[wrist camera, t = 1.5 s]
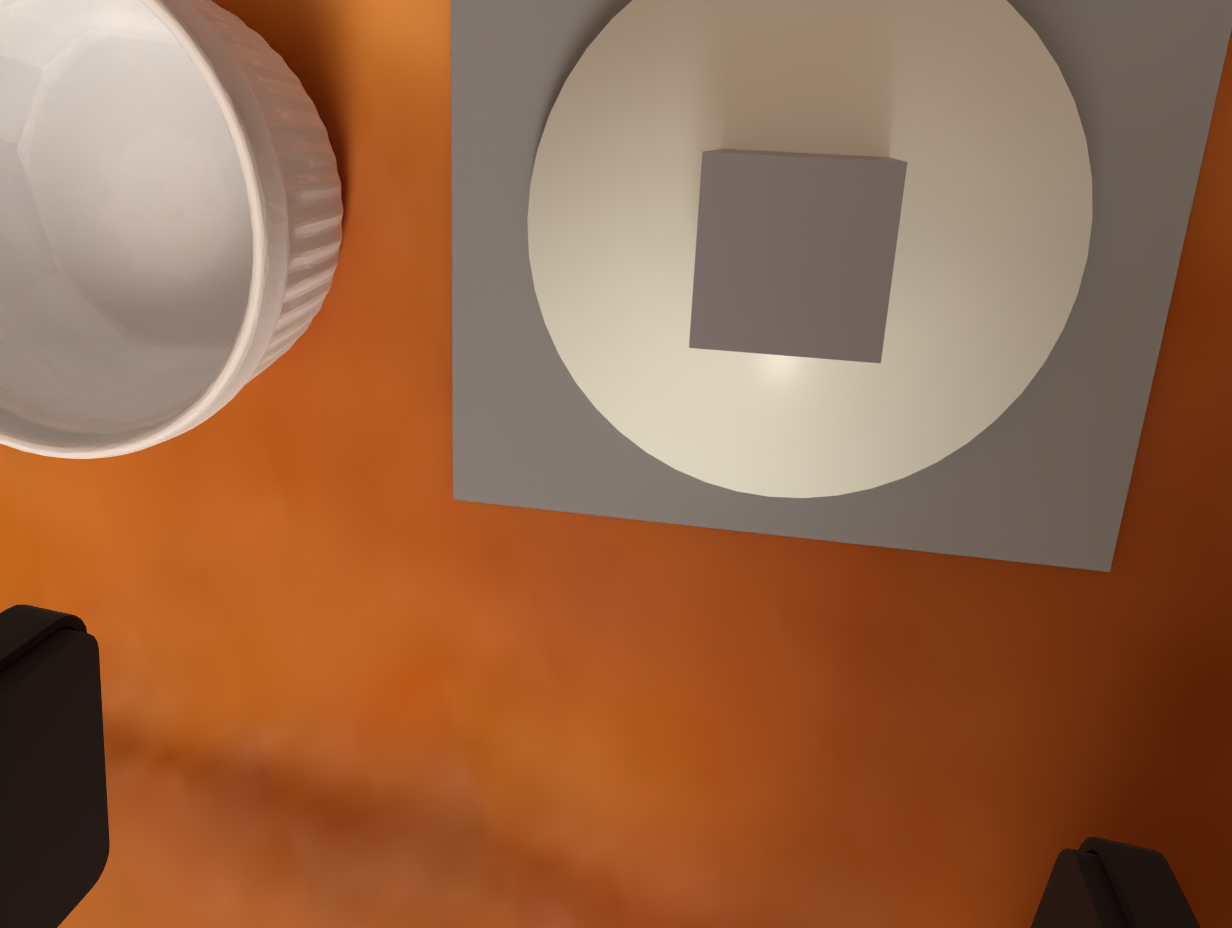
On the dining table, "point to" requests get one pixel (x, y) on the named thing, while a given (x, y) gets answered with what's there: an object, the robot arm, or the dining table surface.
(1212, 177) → the dining table surface
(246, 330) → the ramekin
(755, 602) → the dining table surface
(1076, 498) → the mat
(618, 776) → the dining table surface
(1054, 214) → the lid
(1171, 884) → the robot arm
